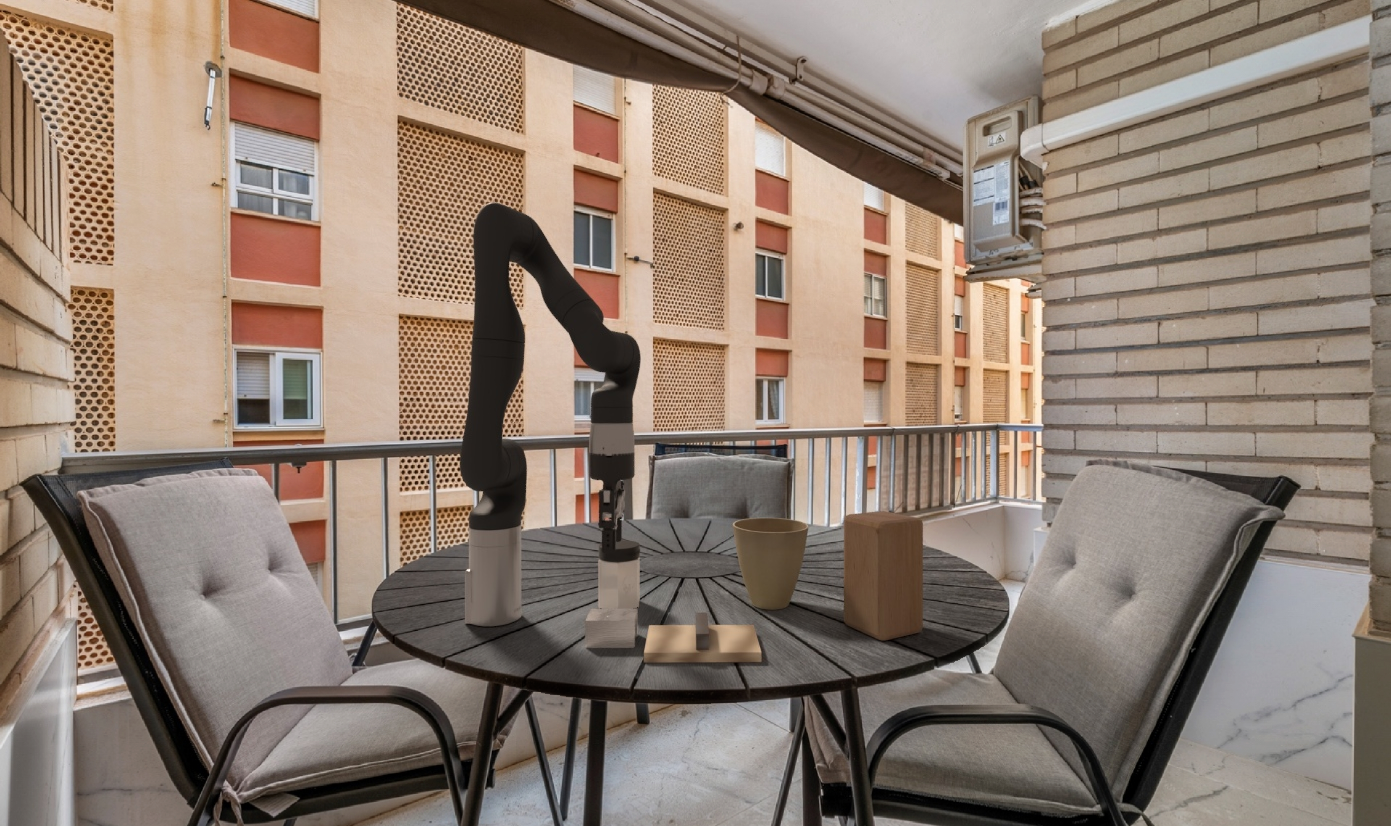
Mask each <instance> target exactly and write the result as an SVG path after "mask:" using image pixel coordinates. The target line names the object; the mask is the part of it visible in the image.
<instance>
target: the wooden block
mask: <svg viewBox="0 0 1391 826" xmlns="http://www.w3.org/2000/svg"><path fill="white" fill-rule="evenodd" d="M923 574H924V522H923V520H922V519H920V518H918V517H915V516H911V515H906V514H901V513H894V512H890V511H885V510H878V511H877V510H876V511H871V512H870V511H869V512H868V511H867V512H860V513H859V512H857V513H850V514H846V515H845V516H844V518H843V621H844V624H845V625H846V626H848V627H850V628H852V629H855V630H857V631H859V632H861V633H863V634H866V635H868V636H870V637H872V638H874V639H876V640H879V641H883V642H884V641H888V640H893V639H897V638H901V637H904V636H905V637H907V636H909V635H910V636H911V635H913V634H919V633H921V632H922V631H923V629H924V624H923V623H924V608H923V607H924V605H923V604H924V602H923V601H924V593H923V592H924V582H923V581H924V575H923Z"/></svg>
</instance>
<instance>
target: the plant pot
mask: <svg viewBox="0 0 1391 826" xmlns="http://www.w3.org/2000/svg"><path fill="white" fill-rule="evenodd" d="M732 530H733V536H734V537H733V538H734V543H735V548H736V549H735V550H736V554H737V559H738V564H739V568H740V572H741V576H742V579H743V583H744V586H745V590H746V592H747V594H748V597H749V600H750V602H751V605H752V606H753V607H755V608H758V609H762V610H769V611H770V610H773V611H775V610H781V609H786V608H787V607H789V604H790V603H791V600H792V597H793V595H794V591H795V588H796V586H797V582H798V580H799V576H800V573H801V569H802V565H803V561H804V556H805V551H806V545H807V540H808V539H807V538H808V533H809V525H808V523H806V522H803V521H800V520H795V519H790V518H780V517H754V518H753V517H751V518H744V519H739V520H736V521H734V522H733V523H732Z"/></svg>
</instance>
